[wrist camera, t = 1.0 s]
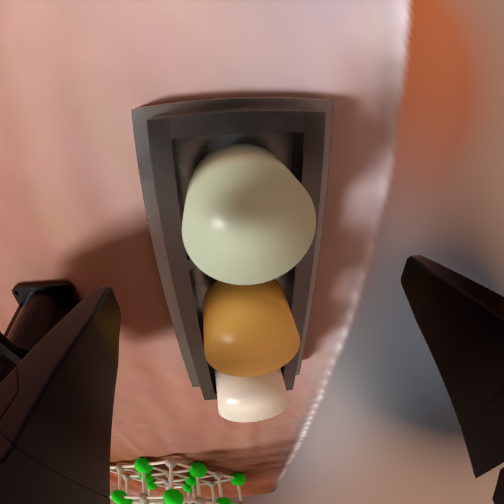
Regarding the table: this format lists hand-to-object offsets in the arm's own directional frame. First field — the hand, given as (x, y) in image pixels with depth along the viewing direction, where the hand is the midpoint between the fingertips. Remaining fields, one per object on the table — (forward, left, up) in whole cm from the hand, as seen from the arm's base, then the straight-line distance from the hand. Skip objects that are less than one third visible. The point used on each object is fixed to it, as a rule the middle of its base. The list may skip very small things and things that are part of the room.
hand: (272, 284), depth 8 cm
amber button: (0, -7, -7) cm, 10 cm away
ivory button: (0, -14, -7) cm, 16 cm away
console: (0, -7, -10) cm, 12 cm away
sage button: (0, 0, -7) cm, 7 cm away
